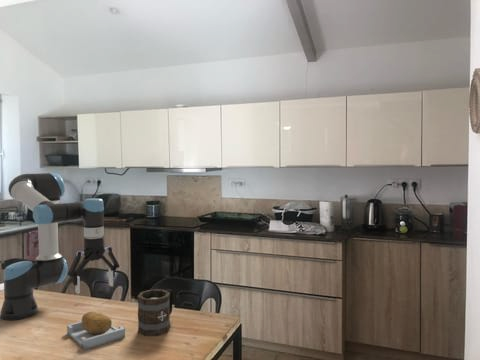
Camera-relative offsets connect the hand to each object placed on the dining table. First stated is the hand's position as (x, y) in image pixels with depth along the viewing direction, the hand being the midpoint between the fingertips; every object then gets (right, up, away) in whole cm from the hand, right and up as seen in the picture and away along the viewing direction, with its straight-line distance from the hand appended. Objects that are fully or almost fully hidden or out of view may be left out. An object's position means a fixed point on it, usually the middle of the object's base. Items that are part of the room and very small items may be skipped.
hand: (94, 289), depth 158 cm
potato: (+1, -18, +1) cm, 18 cm away
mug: (+24, -19, +8) cm, 32 cm away
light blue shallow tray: (0, -19, 0) cm, 19 cm away
